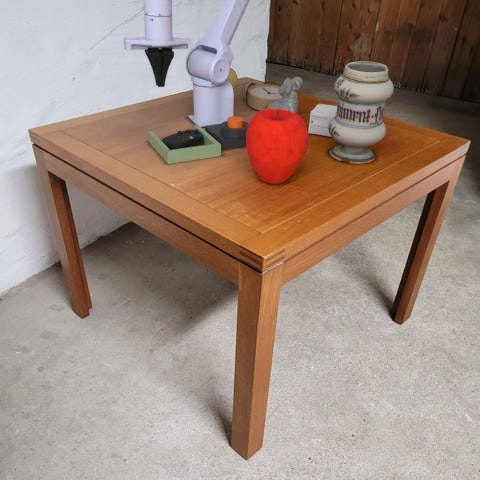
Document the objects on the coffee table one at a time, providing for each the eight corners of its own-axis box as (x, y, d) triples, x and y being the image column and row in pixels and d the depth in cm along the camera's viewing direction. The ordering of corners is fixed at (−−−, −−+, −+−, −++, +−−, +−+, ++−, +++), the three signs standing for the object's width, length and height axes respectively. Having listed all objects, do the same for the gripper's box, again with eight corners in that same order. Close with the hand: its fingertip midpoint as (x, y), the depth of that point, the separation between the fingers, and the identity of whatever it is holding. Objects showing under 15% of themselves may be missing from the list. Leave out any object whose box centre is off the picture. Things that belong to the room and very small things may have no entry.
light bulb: (225, 113, 131) (225, 71, 125) (208, 107, 134) (207, 66, 128) (242, 108, 135) (243, 67, 129) (224, 102, 138) (225, 62, 132)
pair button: (224, 125, 114) (224, 117, 113) (239, 123, 115) (239, 115, 114) (231, 130, 111) (231, 122, 110) (246, 128, 112) (246, 120, 111)
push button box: (205, 135, 119) (204, 117, 116) (240, 130, 122) (240, 113, 119) (222, 150, 112) (222, 132, 109) (259, 145, 115) (260, 127, 112)
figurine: (261, 116, 130) (263, 71, 124) (300, 120, 129) (304, 74, 122) (255, 126, 124) (256, 79, 117) (296, 130, 122) (300, 83, 116)
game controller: (188, 132, 117) (200, 118, 112) (200, 153, 117) (213, 139, 113) (156, 143, 111) (168, 128, 106) (169, 165, 112) (181, 151, 107)
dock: (198, 135, 119) (198, 124, 117) (221, 156, 109) (221, 144, 108) (148, 142, 114) (147, 130, 113) (167, 164, 105) (167, 152, 103)
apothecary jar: (318, 160, 109) (330, 69, 97) (331, 141, 117) (344, 56, 106) (375, 170, 105) (394, 76, 94) (384, 150, 114) (402, 62, 103)
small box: (307, 133, 121) (309, 111, 118) (315, 124, 127) (318, 102, 123) (339, 139, 119) (342, 116, 116) (346, 128, 125) (350, 107, 121)
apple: (307, 171, 104) (315, 103, 95) (300, 196, 95) (307, 123, 87) (251, 165, 106) (254, 97, 97) (238, 188, 97) (240, 116, 88)
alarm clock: (258, 102, 130) (237, 76, 138) (256, 120, 133) (235, 94, 142) (297, 98, 133) (274, 73, 142) (294, 116, 137) (271, 90, 146)
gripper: (184, 12, 110) (185, 80, 118) (118, 11, 104) (123, 82, 112) (196, 17, 105) (195, 87, 113) (127, 16, 99) (131, 90, 107)
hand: (160, 85), depth 112 cm, fingers closed
